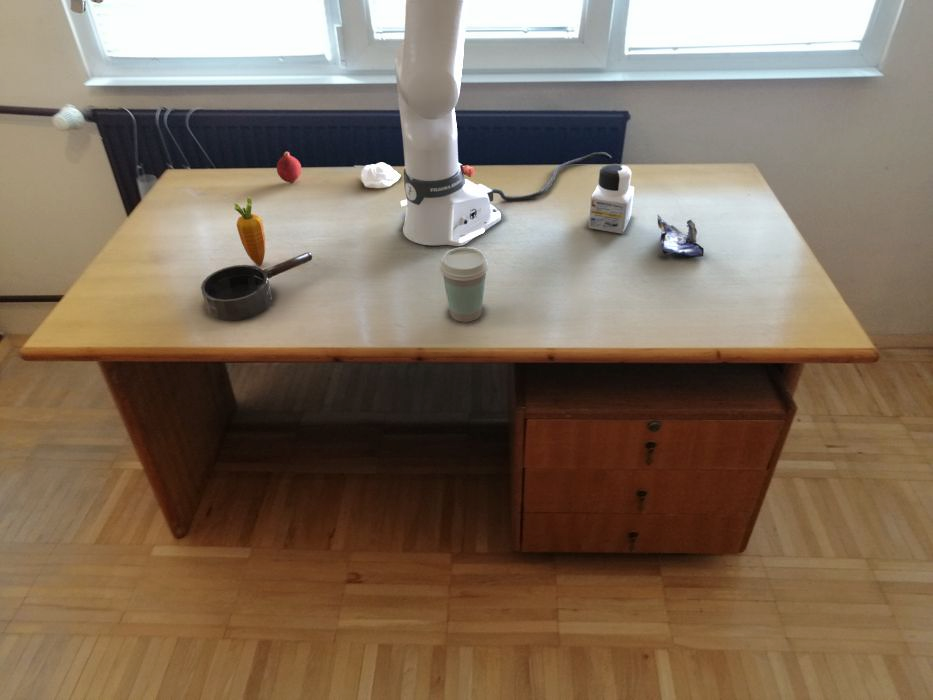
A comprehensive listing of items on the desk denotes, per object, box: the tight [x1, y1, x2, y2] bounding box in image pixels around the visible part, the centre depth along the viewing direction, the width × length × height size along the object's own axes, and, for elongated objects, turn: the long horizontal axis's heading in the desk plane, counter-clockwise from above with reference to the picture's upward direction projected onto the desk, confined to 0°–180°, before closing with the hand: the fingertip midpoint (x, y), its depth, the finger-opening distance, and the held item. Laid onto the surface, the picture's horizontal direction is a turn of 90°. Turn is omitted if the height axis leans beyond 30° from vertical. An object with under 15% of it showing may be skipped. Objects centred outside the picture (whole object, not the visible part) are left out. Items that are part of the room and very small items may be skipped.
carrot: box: [234, 196, 266, 267], centre depth 143 cm, size 5×5×15 cm
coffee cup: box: [439, 246, 489, 323], centre depth 130 cm, size 9×8×12 cm
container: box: [588, 163, 635, 235], centre depth 154 cm, size 8×8×13 cm
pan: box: [200, 264, 273, 322], centre depth 137 cm, size 12×12×4 cm
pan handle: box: [259, 251, 313, 280], centre depth 142 cm, size 11×2×2 cm, turn 130°
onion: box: [276, 151, 302, 184], centre depth 175 cm, size 6×6×8 cm
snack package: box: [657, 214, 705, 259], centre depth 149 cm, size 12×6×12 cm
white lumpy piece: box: [360, 161, 401, 189], centre depth 176 cm, size 10×4×10 cm
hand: (87, 6), depth 120 cm, fingers open, 8 cm apart
